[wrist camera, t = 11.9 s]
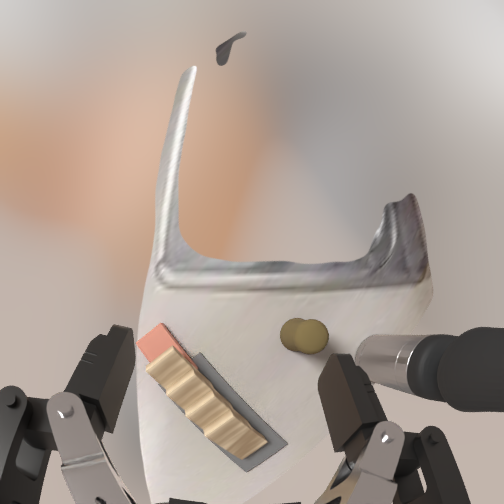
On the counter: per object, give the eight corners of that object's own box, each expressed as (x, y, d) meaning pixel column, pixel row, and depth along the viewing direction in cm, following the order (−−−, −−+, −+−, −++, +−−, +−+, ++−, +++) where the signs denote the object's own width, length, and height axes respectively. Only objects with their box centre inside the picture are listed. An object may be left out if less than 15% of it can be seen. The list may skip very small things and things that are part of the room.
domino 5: (267, 442, 40) (233, 416, 37) (241, 459, 38) (204, 435, 36) (264, 436, 41) (230, 409, 39) (239, 453, 40) (202, 429, 37)
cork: (309, 353, 46) (329, 360, 36) (276, 348, 46) (289, 355, 36) (315, 321, 48) (338, 319, 37) (283, 315, 48) (298, 312, 37)
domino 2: (214, 388, 41) (173, 349, 39) (187, 407, 40) (145, 371, 38) (211, 383, 43) (172, 344, 41) (186, 402, 42) (146, 366, 39)
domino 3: (233, 408, 41) (194, 374, 38) (207, 427, 40) (166, 395, 37) (230, 403, 43) (193, 368, 40) (205, 421, 41) (165, 389, 39)
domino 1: (197, 369, 42) (160, 322, 44) (170, 389, 41) (135, 342, 43) (198, 368, 44) (163, 323, 46) (173, 387, 43) (139, 342, 44)
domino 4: (251, 426, 40) (214, 396, 38) (225, 444, 39) (185, 416, 36) (248, 420, 42) (212, 390, 39) (222, 438, 41) (184, 410, 38)
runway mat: (287, 442, 41) (287, 443, 41) (246, 471, 39) (246, 472, 39) (200, 352, 45) (199, 352, 45) (158, 383, 43) (158, 384, 42)
